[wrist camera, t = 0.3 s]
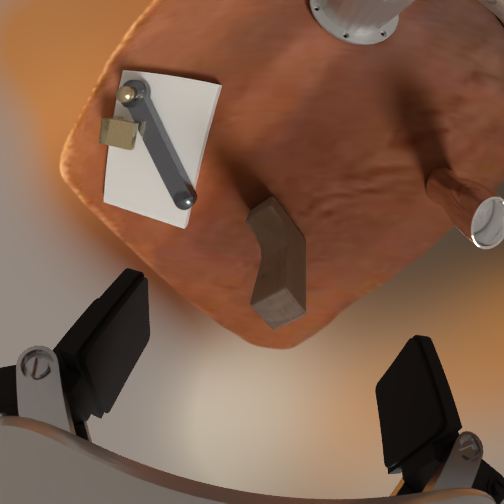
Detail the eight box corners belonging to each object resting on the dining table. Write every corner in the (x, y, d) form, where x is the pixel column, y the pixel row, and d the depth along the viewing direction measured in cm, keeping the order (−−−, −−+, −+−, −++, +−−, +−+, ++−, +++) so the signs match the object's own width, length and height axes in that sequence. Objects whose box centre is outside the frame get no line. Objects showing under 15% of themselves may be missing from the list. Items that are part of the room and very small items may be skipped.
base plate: (128, 70, 36) (123, 70, 34) (222, 85, 36) (219, 84, 35) (108, 199, 47) (103, 201, 46) (187, 225, 47) (184, 228, 46)
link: (122, 89, 36) (115, 90, 34) (144, 74, 34) (137, 74, 33) (180, 209, 44) (175, 214, 42) (204, 199, 43) (200, 204, 41)
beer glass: (416, 177, 38) (462, 214, 25) (449, 156, 35) (504, 184, 22) (433, 214, 40) (477, 261, 27) (464, 193, 37) (515, 232, 24)
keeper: (122, 84, 36) (105, 84, 32) (154, 88, 36) (139, 87, 32) (112, 138, 40) (95, 144, 36) (142, 145, 40) (127, 151, 36)
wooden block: (249, 210, 45) (220, 274, 29) (273, 194, 43) (256, 252, 27) (283, 253, 47) (272, 331, 32) (306, 240, 45) (307, 316, 30)
